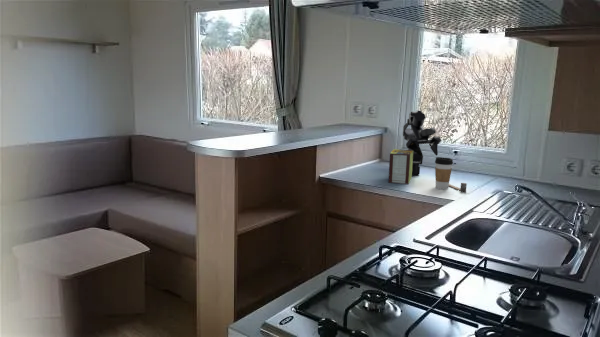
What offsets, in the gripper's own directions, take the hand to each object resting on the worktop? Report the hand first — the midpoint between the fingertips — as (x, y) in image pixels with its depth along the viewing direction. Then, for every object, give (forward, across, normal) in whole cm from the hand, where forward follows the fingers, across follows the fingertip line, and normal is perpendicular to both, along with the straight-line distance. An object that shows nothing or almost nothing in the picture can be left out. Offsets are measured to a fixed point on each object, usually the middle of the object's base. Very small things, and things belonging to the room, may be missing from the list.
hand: (429, 155), depth 240 cm
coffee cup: (+21, -3, -2) cm, 21 cm away
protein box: (+6, -14, +13) cm, 20 cm away
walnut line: (+21, +3, -3) cm, 21 cm away
